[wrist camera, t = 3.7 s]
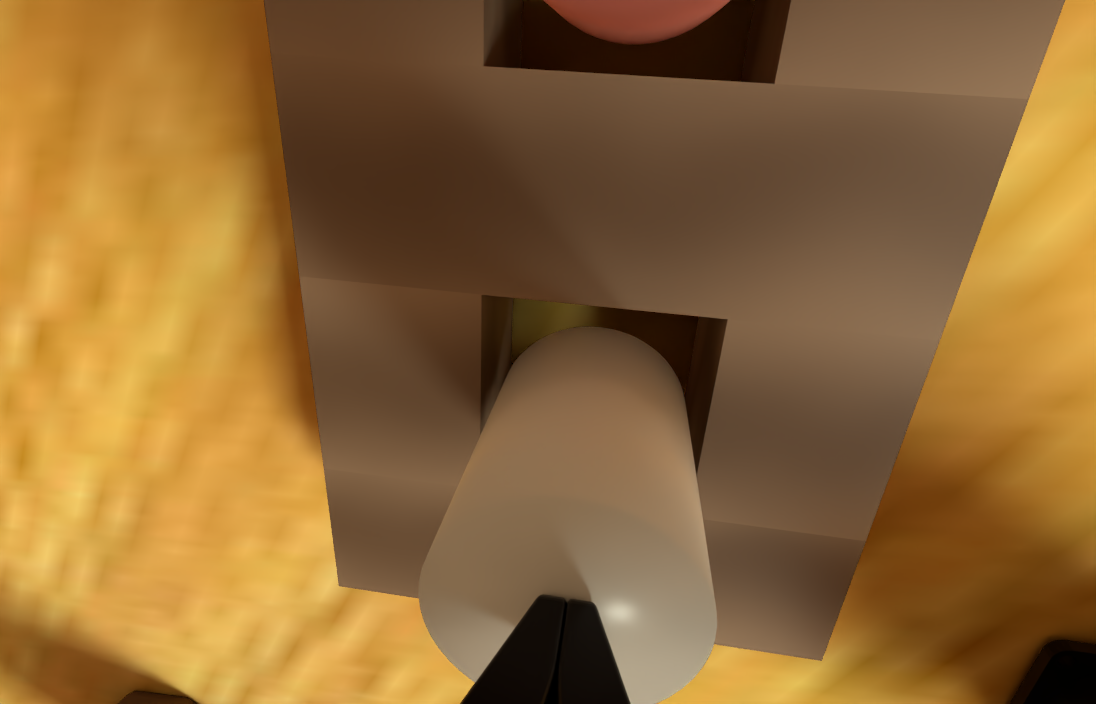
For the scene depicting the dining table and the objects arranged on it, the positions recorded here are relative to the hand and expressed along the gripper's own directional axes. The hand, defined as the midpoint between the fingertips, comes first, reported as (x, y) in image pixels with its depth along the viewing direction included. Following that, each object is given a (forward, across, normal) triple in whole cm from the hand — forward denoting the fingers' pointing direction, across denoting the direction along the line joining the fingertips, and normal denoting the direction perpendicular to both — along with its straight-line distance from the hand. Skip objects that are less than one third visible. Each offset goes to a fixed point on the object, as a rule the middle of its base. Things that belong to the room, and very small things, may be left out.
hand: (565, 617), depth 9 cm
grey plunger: (+6, 0, 0) cm, 6 cm away
